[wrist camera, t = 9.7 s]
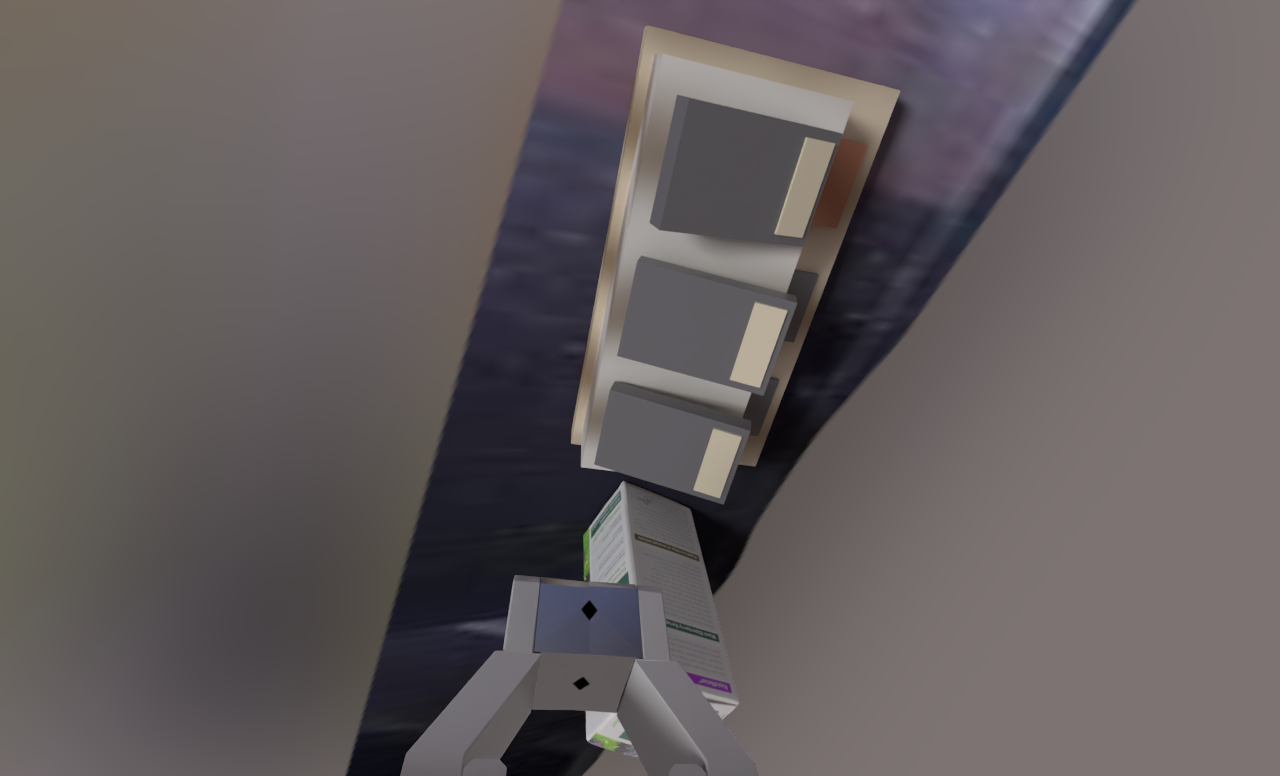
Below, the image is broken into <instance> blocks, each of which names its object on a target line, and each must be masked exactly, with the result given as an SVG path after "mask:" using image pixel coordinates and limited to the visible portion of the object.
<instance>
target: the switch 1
mask: <svg viewBox="0 0 1280 776" xmlns="http://www.w3.org/2000/svg"><path fill="white" fill-rule="evenodd" d="M841 137H842V133H839V132H835V131H831V130H827V129H823V128H818V127H814V126H810V125H806V124H801V123H797V122H793V121H788V120H784V119H780V118H776V117H771V116H767V115H763V114H758V113H754V112H750V111H746V110H741V109H737V108H733V107H728V106H724V105H720V104H715V103H711V102H707V101H703V100H698V99H694V98H690V97H685V96H681V95H677V98H676V102H675V107H674V111H673V116H672V121H671V125H670V130H669V135H668V139H667V144H666V149H665V153H664V158H663V162H662V167H661V172H660V176H659V181H658V186H657V190H656V195H655V200H654V204H653V209H652V213H651V218H650V223H651V224H652V225H653V226H654V227H656V228H657V229H658V230H661V231H670V232H678V233H687V234H696V235H705V236H713V237H722V238H731V239H739V240H748V241H757V242H766V243H774V244H783V245H792V246H801V247H803V245H804V242H805V239H806V236H807V233H808V231H809V228H810V225H811V222H812V219H813V216H814V214H815V211H816V208H817V205H818V202H819V200H820V197H821V194H822V191H823V188H824V185H825V183H826V180H827V177H828V174H829V171H830V168H831V166H832V163H833V160H834V157H835V154H836V151H837V149H838V146H839V143H840V140H841Z"/></svg>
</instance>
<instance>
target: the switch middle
mask: <svg viewBox="0 0 1280 776" xmlns="http://www.w3.org/2000/svg"><path fill="white" fill-rule="evenodd" d="M796 306H797V299H796V296H795V295H791V294H787V293H783V292H779V291H775V290H772V289H768V288H764V287H760V286H756V285H752V284H749V283H745V282H741V281H737V280H733V279H729V278H726V277H722V276H718V275H714V274H710V273H706V272H703V271H699V270H695V269H691V268H687V267H683V266H680V265H676V264H672V263H668V262H664V261H660V260H657V259H653V258H649V257H645V256H641V257H640V258H639V259H638V261H637V264H636V269H635V274H634V279H633V283H632V288H631V293H630V297H629V302H628V307H627V312H626V316H625V321H624V326H623V330H622V335H621V340H620V345H619V349H618V354H617V356H619V357H623V358H626V359H630V360H634V361H637V362H641V363H645V364H648V365H652V366H656V367H659V368H663V369H667V370H670V371H674V372H678V373H681V374H685V375H689V376H692V377H696V378H700V379H703V380H707V381H711V382H714V383H718V384H722V385H725V386H729V387H733V388H736V389H740V390H744V391H747V392H751V393H755V394H759V395H762V396H764V393H765V390H766V387H767V385H768V382H769V379H770V377H771V374H772V371H773V368H774V366H775V363H776V360H777V357H778V355H779V352H780V349H781V347H782V344H783V341H784V338H785V336H786V333H787V330H788V327H789V325H790V322H791V319H792V317H793V314H794V311H795V308H796Z"/></svg>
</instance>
